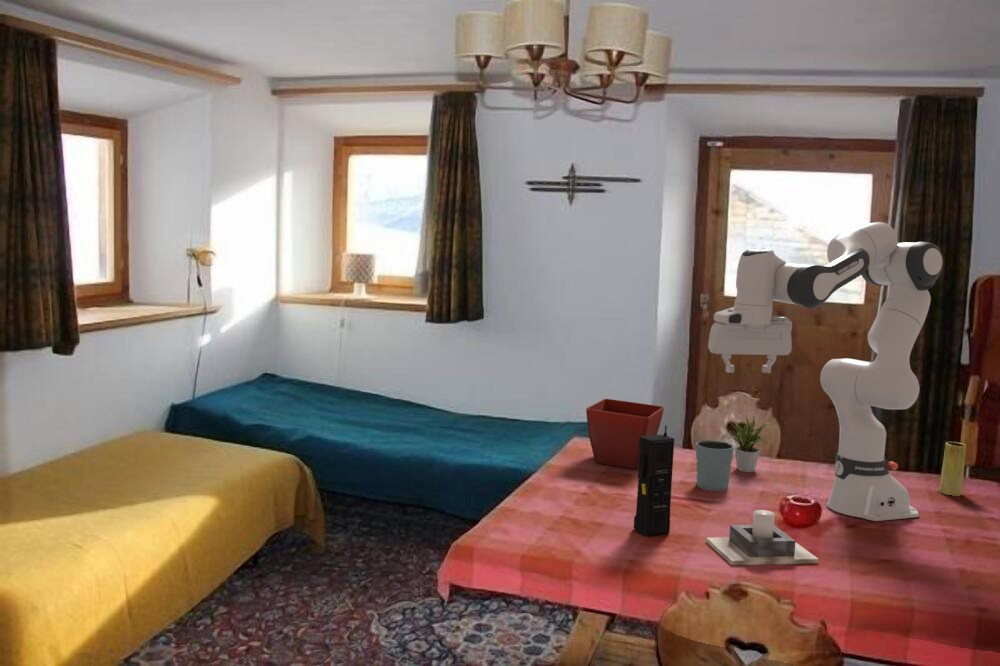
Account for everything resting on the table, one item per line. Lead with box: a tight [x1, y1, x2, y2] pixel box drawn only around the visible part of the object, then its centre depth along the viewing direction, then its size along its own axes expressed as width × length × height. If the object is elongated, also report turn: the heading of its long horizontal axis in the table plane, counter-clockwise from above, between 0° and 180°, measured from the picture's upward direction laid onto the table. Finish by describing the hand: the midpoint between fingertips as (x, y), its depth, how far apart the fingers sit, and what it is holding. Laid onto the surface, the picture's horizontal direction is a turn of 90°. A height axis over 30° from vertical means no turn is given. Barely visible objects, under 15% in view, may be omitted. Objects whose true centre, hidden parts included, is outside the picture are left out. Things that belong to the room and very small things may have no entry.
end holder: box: [705, 524, 819, 566], centre depth 203 cm, size 20×14×4 cm
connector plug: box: [752, 509, 776, 538], centre depth 203 cm, size 4×4×8 cm
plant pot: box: [585, 398, 665, 470], centre depth 273 cm, size 19×19×17 cm
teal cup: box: [695, 439, 735, 492], centre depth 252 cm, size 10×10×12 cm
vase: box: [938, 441, 967, 497], centre depth 256 cm, size 6×6×14 cm
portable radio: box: [633, 425, 675, 537], centre depth 212 cm, size 8×6×25 cm
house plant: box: [728, 416, 773, 473], centre depth 270 cm, size 14×14×16 cm
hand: (748, 372), depth 221 cm, fingers open, 8 cm apart
